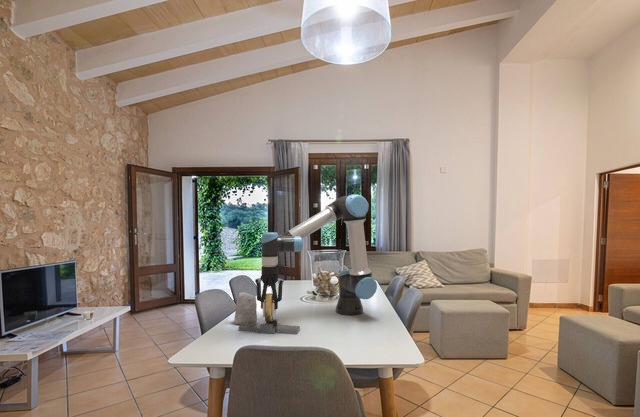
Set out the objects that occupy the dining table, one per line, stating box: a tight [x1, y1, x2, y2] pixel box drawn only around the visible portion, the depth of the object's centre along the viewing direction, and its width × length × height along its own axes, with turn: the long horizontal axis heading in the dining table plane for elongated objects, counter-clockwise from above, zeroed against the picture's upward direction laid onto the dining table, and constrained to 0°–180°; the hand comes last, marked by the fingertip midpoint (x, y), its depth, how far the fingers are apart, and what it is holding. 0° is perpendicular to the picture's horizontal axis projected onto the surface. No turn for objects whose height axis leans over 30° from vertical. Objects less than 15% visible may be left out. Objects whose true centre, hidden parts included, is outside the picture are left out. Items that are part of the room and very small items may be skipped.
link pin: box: [264, 292, 275, 323], centre depth 149 cm, size 4×4×12 cm
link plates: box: [238, 319, 301, 335], centre depth 149 cm, size 28×8×4 cm, turn 80°
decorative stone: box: [233, 291, 258, 325], centre depth 159 cm, size 11×6×15 cm, turn 87°
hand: (269, 316), depth 149 cm, fingers closed on link pin, 4 cm apart
